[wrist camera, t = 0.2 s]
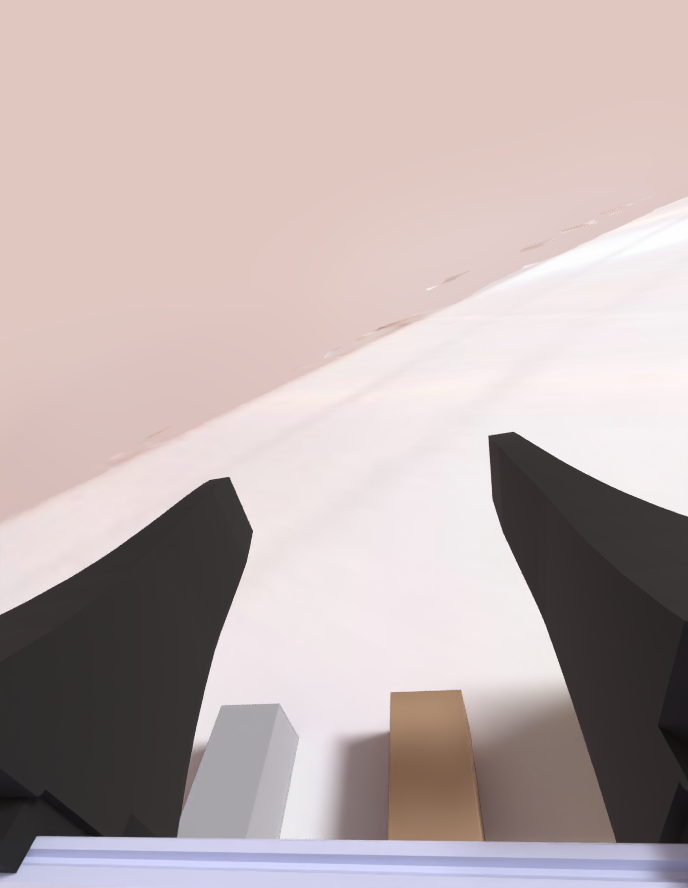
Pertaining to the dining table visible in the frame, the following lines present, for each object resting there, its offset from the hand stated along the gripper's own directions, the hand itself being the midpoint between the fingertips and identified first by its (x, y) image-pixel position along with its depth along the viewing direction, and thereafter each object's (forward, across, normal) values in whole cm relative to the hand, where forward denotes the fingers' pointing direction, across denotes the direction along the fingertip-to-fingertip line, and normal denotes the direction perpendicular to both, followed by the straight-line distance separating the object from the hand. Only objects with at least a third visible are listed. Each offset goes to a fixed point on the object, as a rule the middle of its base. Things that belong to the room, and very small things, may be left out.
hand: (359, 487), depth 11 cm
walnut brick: (0, 0, +21) cm, 21 cm away
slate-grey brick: (0, +11, +22) cm, 25 cm away
